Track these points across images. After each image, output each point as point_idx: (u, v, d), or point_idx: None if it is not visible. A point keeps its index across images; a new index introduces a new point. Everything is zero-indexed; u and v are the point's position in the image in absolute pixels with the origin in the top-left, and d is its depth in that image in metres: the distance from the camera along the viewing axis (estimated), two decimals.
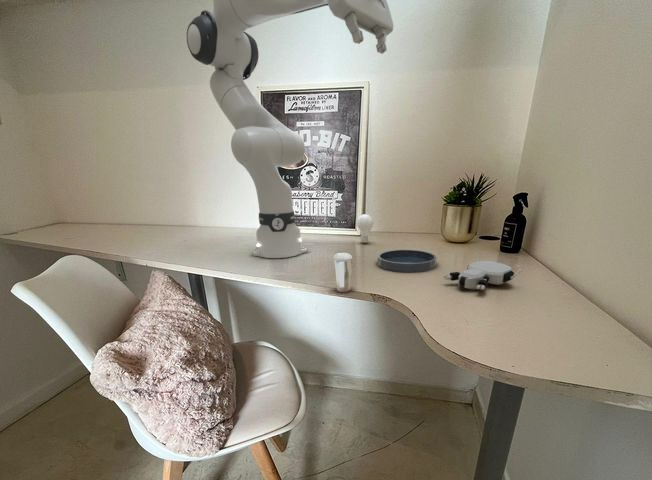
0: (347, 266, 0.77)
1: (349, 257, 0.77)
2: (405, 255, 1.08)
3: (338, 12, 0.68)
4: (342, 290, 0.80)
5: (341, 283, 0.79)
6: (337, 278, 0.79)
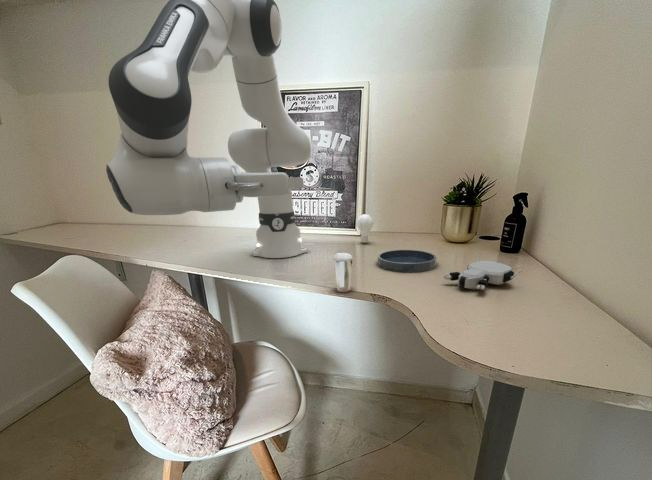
0: (347, 266, 0.77)
1: (349, 257, 0.77)
2: (405, 255, 1.08)
3: None
4: (342, 290, 0.80)
5: (341, 283, 0.79)
6: (337, 278, 0.79)
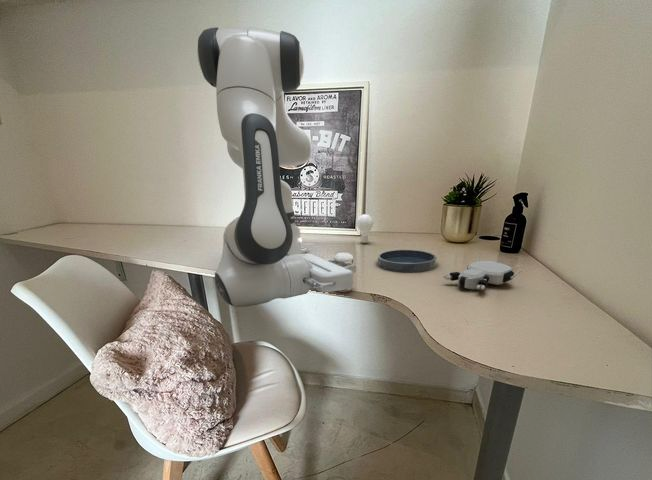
0: None
1: (350, 257, 0.76)
2: (405, 255, 1.08)
3: None
4: (342, 290, 0.80)
5: None
6: None
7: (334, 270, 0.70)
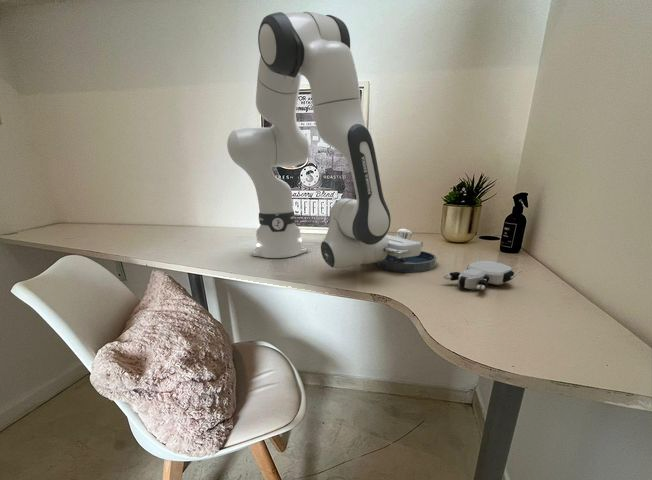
0: (407, 237, 1.01)
1: (410, 231, 1.01)
2: None
3: None
4: None
5: None
6: None
7: (406, 241, 0.93)
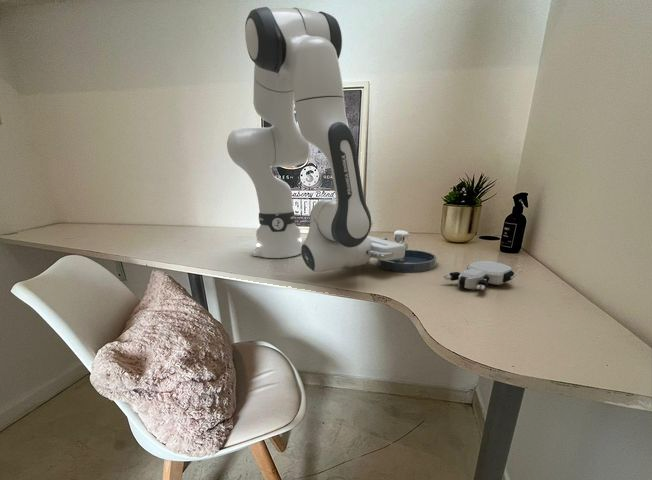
0: (404, 240, 1.00)
1: (406, 233, 0.99)
2: (405, 255, 1.08)
3: None
4: (398, 260, 1.02)
5: None
6: None
7: (390, 244, 0.90)
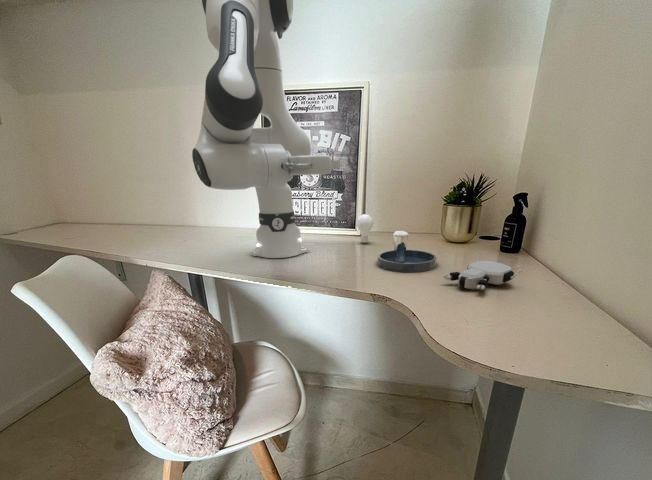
0: (403, 241, 0.99)
1: (405, 234, 0.99)
2: (405, 255, 1.08)
3: None
4: (398, 260, 1.02)
5: (398, 254, 1.02)
6: (395, 250, 1.02)
7: None
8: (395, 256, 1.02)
